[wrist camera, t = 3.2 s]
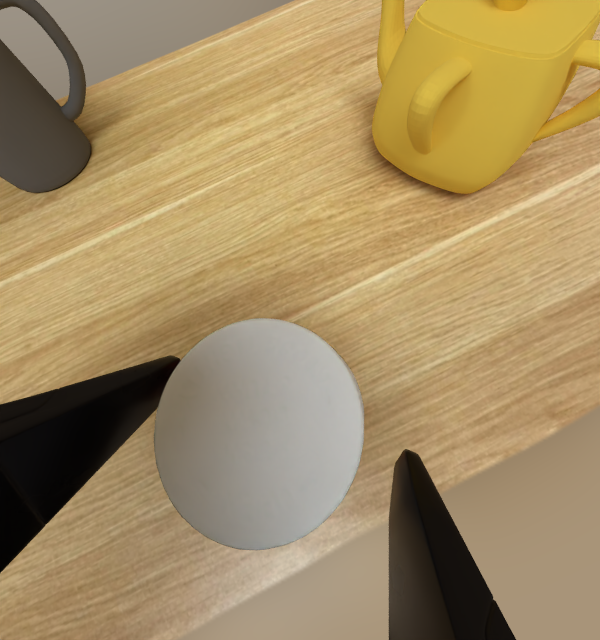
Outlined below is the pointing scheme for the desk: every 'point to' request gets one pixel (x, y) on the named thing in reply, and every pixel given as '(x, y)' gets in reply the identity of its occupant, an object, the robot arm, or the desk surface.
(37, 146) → the mug
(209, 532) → the pill bottle
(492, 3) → the teapot
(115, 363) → the desk surface
